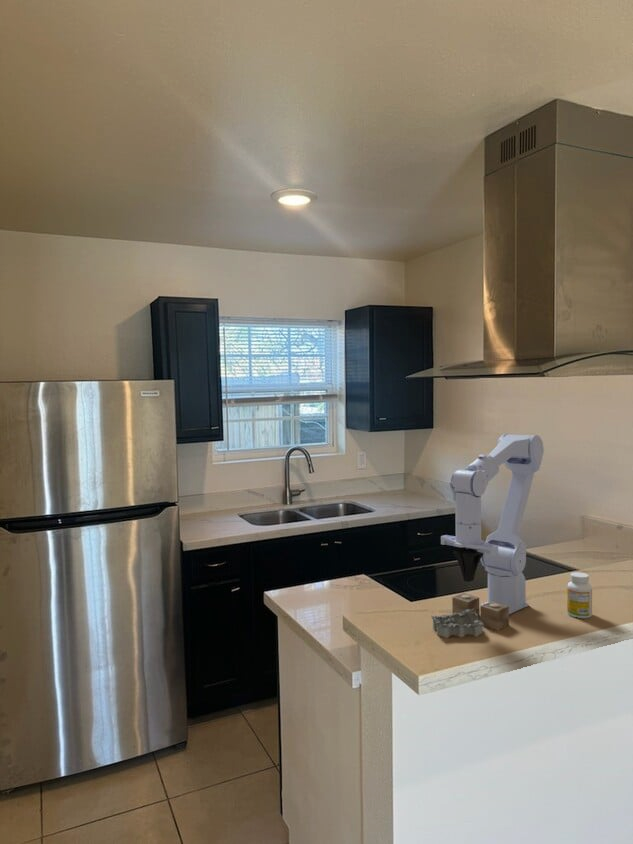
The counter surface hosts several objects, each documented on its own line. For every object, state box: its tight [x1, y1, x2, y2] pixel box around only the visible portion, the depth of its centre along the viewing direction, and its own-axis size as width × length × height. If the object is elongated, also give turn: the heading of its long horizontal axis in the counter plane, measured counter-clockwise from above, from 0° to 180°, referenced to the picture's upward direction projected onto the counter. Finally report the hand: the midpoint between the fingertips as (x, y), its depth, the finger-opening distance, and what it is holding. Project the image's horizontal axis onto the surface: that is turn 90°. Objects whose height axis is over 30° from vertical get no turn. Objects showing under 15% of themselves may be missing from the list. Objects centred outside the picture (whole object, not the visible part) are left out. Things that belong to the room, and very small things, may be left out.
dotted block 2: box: [479, 601, 510, 631], centre depth 136 cm, size 4×4×5 cm
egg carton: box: [431, 609, 485, 639], centre depth 133 cm, size 11×8×4 cm
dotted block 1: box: [451, 592, 481, 617], centre depth 142 cm, size 4×4×5 cm
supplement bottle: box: [566, 571, 593, 619], centre depth 140 cm, size 5×5×10 cm
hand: (468, 580), depth 136 cm, fingers closed
